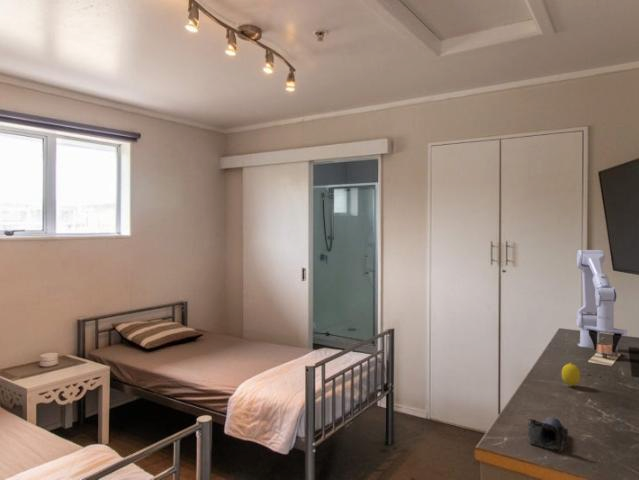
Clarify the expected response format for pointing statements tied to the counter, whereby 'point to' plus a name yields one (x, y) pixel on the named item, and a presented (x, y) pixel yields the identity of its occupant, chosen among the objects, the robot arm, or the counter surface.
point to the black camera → (541, 434)
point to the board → (605, 358)
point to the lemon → (570, 374)
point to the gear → (604, 348)
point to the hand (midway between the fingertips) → (604, 350)
